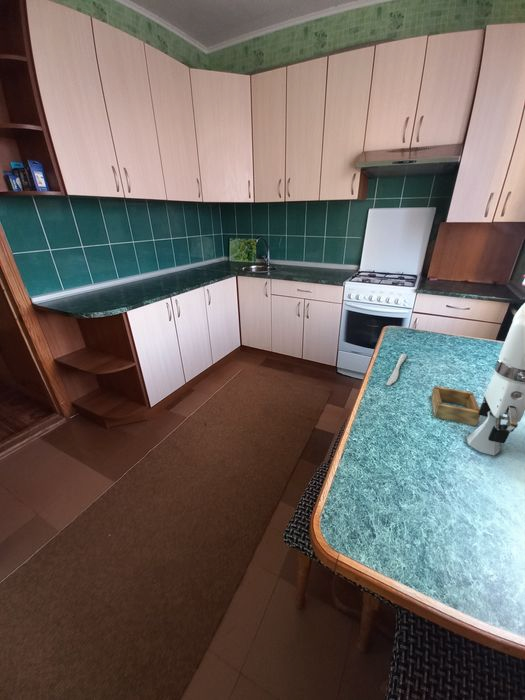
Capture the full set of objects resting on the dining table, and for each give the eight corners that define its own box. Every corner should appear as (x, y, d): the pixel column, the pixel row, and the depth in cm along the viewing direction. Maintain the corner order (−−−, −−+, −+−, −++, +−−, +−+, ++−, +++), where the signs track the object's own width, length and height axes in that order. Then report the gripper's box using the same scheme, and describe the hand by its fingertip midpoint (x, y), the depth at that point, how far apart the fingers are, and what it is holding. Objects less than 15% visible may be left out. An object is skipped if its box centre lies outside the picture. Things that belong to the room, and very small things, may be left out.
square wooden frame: (468, 404, 90) (472, 392, 88) (476, 425, 82) (481, 413, 80) (430, 397, 94) (434, 385, 92) (434, 417, 85) (438, 405, 83)
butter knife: (409, 354, 118) (402, 352, 120) (392, 386, 99) (383, 383, 100) (409, 356, 118) (401, 353, 120) (392, 388, 99) (383, 385, 101)
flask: (497, 460, 71) (512, 429, 66) (463, 445, 75) (475, 415, 71) (501, 443, 76) (516, 413, 71) (469, 431, 80) (480, 401, 75)
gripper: (555, 394, 57) (521, 457, 64) (522, 355, 71) (497, 410, 79) (508, 387, 59) (481, 448, 67) (485, 350, 73) (465, 404, 81)
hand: (490, 427), depth 73 cm, fingers open, 9 cm apart
